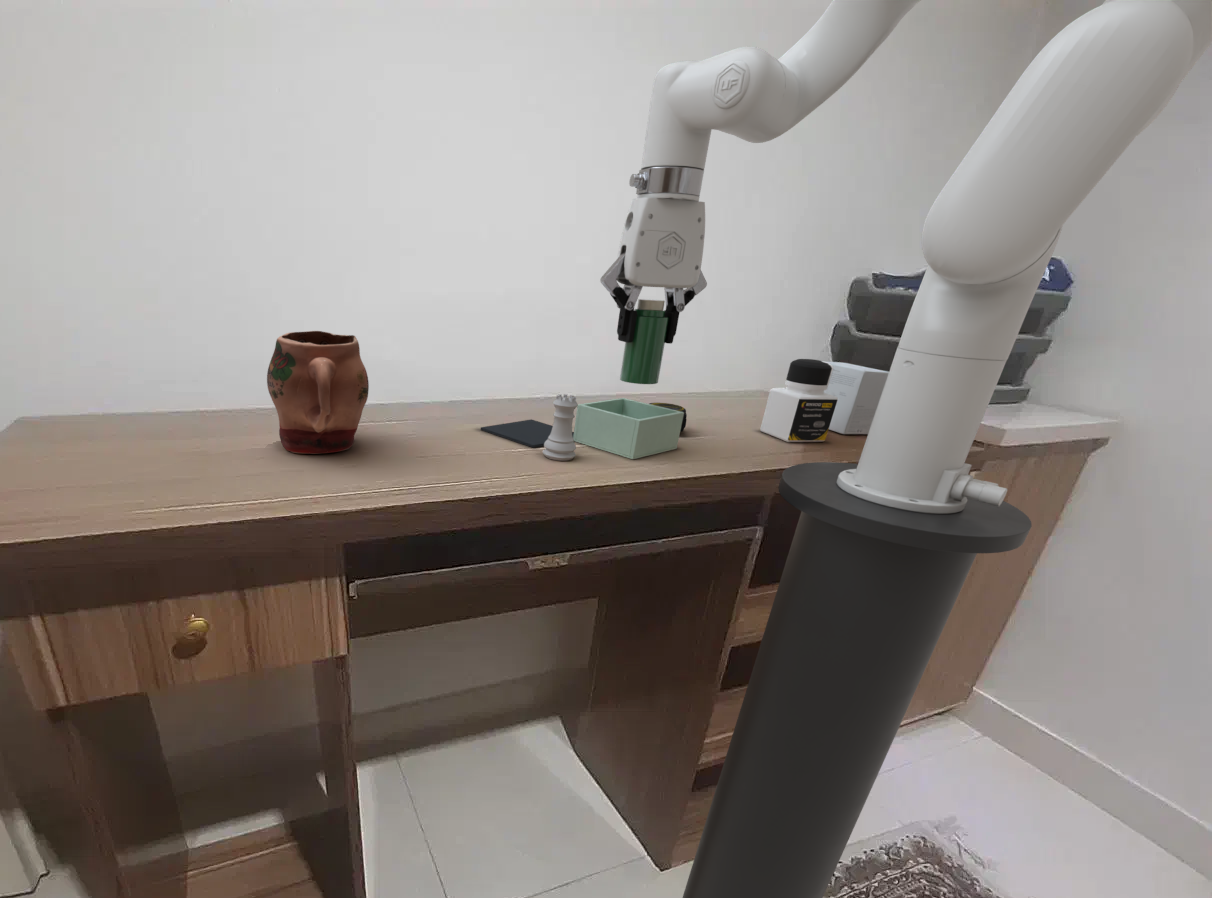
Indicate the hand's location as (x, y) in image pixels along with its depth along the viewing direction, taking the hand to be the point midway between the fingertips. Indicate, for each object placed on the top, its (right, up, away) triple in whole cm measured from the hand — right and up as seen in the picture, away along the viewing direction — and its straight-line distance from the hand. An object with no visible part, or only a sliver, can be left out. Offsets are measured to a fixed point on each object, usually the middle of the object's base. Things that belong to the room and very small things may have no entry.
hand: (645, 340), depth 87 cm
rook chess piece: (-12, -16, -1) cm, 20 cm away
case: (-1, -13, +7) cm, 15 cm away
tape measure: (+7, -9, +16) cm, 20 cm away
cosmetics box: (+41, -7, +26) cm, 49 cm away
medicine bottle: (+29, -10, +17) cm, 35 cm away
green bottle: (0, -5, +2) cm, 5 cm away
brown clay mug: (-43, -16, -4) cm, 46 cm away
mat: (-14, -11, +9) cm, 20 cm away
